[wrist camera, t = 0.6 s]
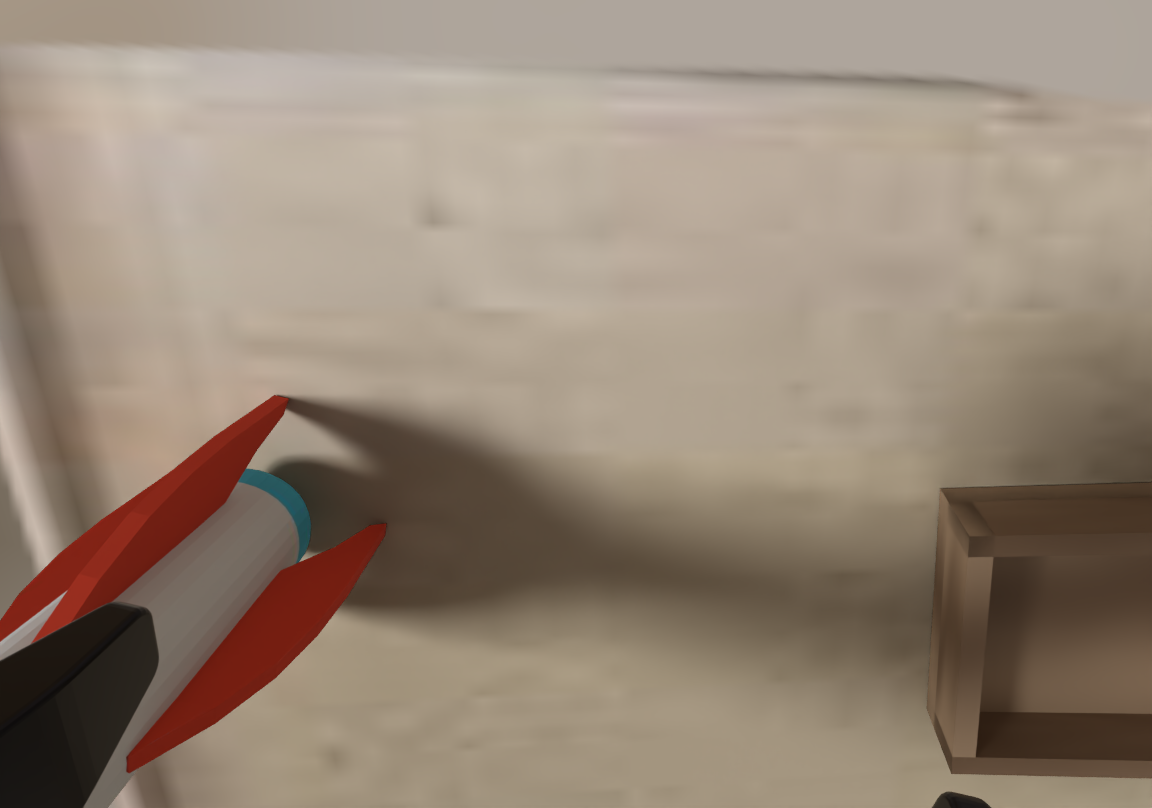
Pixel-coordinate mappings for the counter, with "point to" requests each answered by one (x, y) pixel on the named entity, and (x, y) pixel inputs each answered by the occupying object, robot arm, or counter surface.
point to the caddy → (1043, 630)
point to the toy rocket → (199, 588)
